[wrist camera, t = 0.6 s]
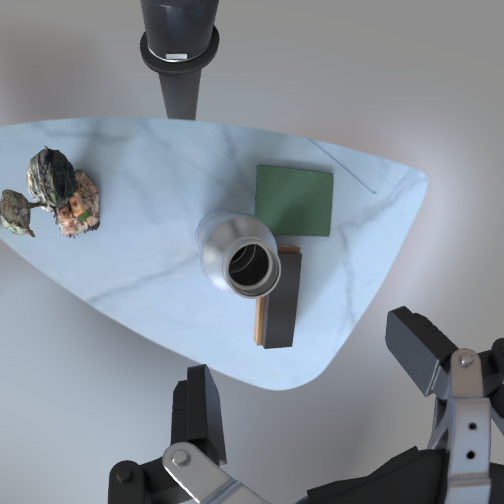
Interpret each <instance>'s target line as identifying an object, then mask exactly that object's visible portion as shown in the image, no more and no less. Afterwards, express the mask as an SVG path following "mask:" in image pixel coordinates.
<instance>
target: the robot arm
mask: <svg viewBox="0 0 504 504" xmlns="http://www.w3.org/2000/svg"><path fill="white" fill-rule="evenodd" d="M140 2H141V7H142V13H143V18H144V24H145V29H146V35H147V43H148V48H149V51H150V53H151V54H152V55H153V56H154V57H155V58H156V59H158V60H159V61H162V62H164V63H168V64H183V63H187V62H191V61H193V60H195V59H197V58H199V57H200V56H202V55H203V54H204V53H205V52H206V51H207V49H208V48H209V46H210V43H211V38H212V30H213V26H214V21H215V16H216V11H217V7H218V3H219V0H140ZM385 340H386V344H387V347H388V349H389V350H390V352H391V353H392V354H393V355H394V357H395V358H396V359H397V360H398V362H399V363H400V364H401V366H402V367H403V368H404V369H405V371H406V372H407V373H408V375H409V376H410V377H411V378H412V380H413V381H414V382H415V384H416V385H417V386H418V388H419V389H420V390H421V391H422V393H423V394H424V396H425V397H427V396H429V395H430V394H432V393H435V394H436V398H435V406H434V407H435V408H434V416H433V425H432V432H431V437H430V440H429V442H428V445H427V449H425V450H420V451H419V450H418V449H417V447H416V446H414V447H413V448H411V449H409V450H407V451H405V452H403V453H401V454H399V455H397V456H395V457H393V458H391V459H390V460H389V461H388V462H386V463H385V464H384V465H382V466H381V467H380V468H378V469H377V470H376V471H374V472H373V473H371V474H370V475H368V476H366V477H361V478H355V479H348V480H341V481H335V482H332V483H329V484H326V485H323V486H320V487H316V488H313V489H310V490H307V494H308V496H306V497H304V498H302V499H300V500H299V501H297V502H296V503H295V504H504V465H501V464H497V463H492V462H490V449H491V418H492V419H493V421H494V422H495V423H496V425H497V427H498V428H499V429H500V431H501V432H502V434H503V435H504V384H503V382H504V338H500V339H497V340H496V341H495V342H494V343H493V346H492V348H491V350H488V351H485V352H481V353H476V352H475V351H473V350H471V349H467V348H462V349H459V348H458V347H457V346H456V345H455V344H453V343H452V342H451V341H450V340H449V339H448V338H447V337H446V336H445V335H444V334H443V333H442V332H441V331H440V330H438V328H437V327H436V326H435V325H433V324H432V322H430V321H429V320H428V319H427V318H426V317H424V316H422V315H420V314H418V313H414V314H413V313H412V312H411V311H410V310H409V309H407V307H405V306H402V307H399V308H397V309H394V310H392V311H389V312H388V316H387V326H386V336H385ZM172 410H173V412H172V426H171V428H172V429H171V444H170V447H168V448H167V449H166V450H165V452H164V454H163V456H162V457H160V458H158V459H156V460H153V461H151V462H148V463H145V464H142V465H138V464H137V463H135V462H133V461H128V460H126V461H121V462H119V463H117V464H116V465H114V467H113V468H112V469H111V471H110V475H109V489H108V504H179V503H182V502H185V501H188V500H190V499H193V498H194V499H195V500H196V501H197V502H198V503H199V504H271V503H269V502H268V501H266V500H264V499H263V498H262V497H260V496H259V495H258V494H256V493H255V492H253V491H252V490H251V489H249V488H248V487H247V486H245V485H244V484H242V483H241V482H239V481H238V480H235V479H233V478H232V477H231V476H229V475H228V474H227V473H226V472H225V471H223V470H222V469H221V468H220V465H224V464H227V460H226V452H225V444H224V435H223V426H222V417H221V407H220V398H219V393H218V390H217V387H216V385H215V383H214V381H213V378H212V376H211V374H210V371H209V369H208V367H207V365H206V364H203V365H198V366H192V367H188V372H187V380H184V381H179V382H178V384H177V386H176V388H175V390H174V391H173V407H172Z"/></svg>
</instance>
